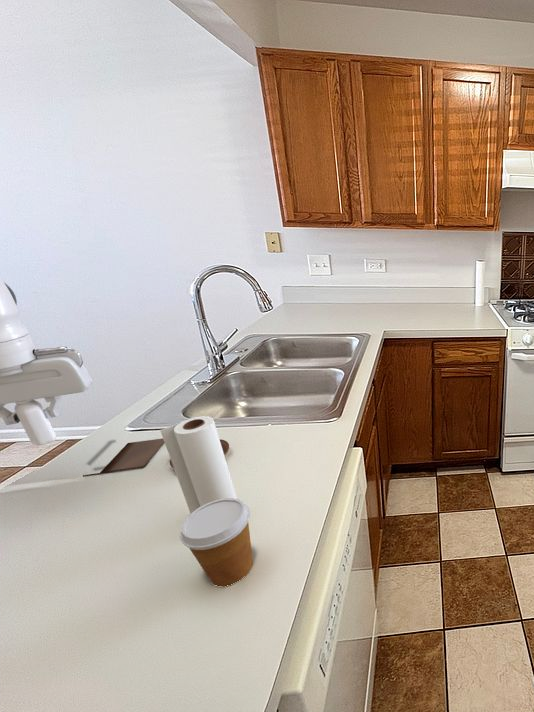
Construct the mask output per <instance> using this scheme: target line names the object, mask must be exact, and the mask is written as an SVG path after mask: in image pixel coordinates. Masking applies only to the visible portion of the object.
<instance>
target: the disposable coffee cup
mask: <svg viewBox="0 0 534 712" xmlns="http://www.w3.org/2000/svg"><path fill="white" fill-rule="evenodd" d="M250 515H251V512H250V508H249V506H247V504H245V503H244V502H243V501H242V500H240V499H238V498H237V499H235V498H224V499H219V500H215V501H212V502H209V503H207V504H205V505H203V506H201V507H199V508H198V509H196V510H195V511H194V512H192V513H190V514H189V515H188V516H187V517H186V518H185V519H184V521H183V523H182V524H181V530H180V535H179V539H180V543H182V545H184V546H185V547H187V548H188V549H189V550H190V552H191V553H192V555H193V557H194V558H195V559H196V561H197V563H198V565H199V566H200V567H201V569H202V570H203V572H204V573H205V575H206V577H207V578H208V580H209V581H210V583H211V582H212V583H213V584H214V585H217V586H226V587H228V586H227V585H230V586H232V585H231V584H233V583H235V582H237V581H239V580H240V581H242V580H243V579H244V578H245V577H246V576H248V574H250V572H251V570H252V568H253V566H254V560H253V553H252V552H253V551H252V542H251V533H250V525H249V519H250ZM249 571H250V572H249ZM244 576H245V577H244ZM243 577H244V578H243ZM242 578H243V579H242ZM241 579H242V580H241ZM240 581H239V582H240ZM212 583H211V584H212ZM237 583H238V582H237ZM213 584H212V585H213ZM235 584H236V583H235ZM214 585H213V586H214ZM233 585H234V584H233ZM217 586H216V587H217Z"/></svg>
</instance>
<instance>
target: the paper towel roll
mask: <svg viewBox="0 0 534 712" xmlns="http://www.w3.org/2000/svg"><path fill="white" fill-rule="evenodd" d="M159 430H160V434H161V437H162V438H163V439H164V442H165V443H164V445H165V448H166V450H167V453H168V455H169V458H170V459H171V461H172V464H173V467H174V469H173V470H174V472H175V475H176V478H177V480H178V483H179V486H180V489H181V491H182V494H183V497H184V500H185V502H186V505H187V507H188V511H189V513H190V514H191V513H192V512H194V511H195V510H196V509H198V508H199V507H201V506H203V505H205V504H207V503H209V502H212V501H215V500H219V499H224V498H235V499H238V495H237V493H236V490H235V487H234V483H233V479H232V476H231V474H230V470H229V467H228V463H227V460H226V455H225V456H224V453H223V449H222V446H221V443H220V439H221V438H220V437H219V432H218V430H217V425H216V423H215V420H214V418H213V417H211V416H208V415H202V416H195V417H191V418H187V419H185V420H182V421H179V422H176V423H175V424H172V425H171V426H168V427H165V428H162V429H159ZM170 459H169V460H170Z"/></svg>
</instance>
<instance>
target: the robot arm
mask: <svg viewBox="0 0 534 712" xmlns="http://www.w3.org/2000/svg"><path fill="white" fill-rule="evenodd" d="M17 301H18V300H17V296H16V294H15V292H14V291H13V289H12V288H11V287H10V286H9V285H8V284H7V283H6V282H5V281H3V278H1V277H0V418H1V419H2V420H3V423H4V424H5V425H6V426H10V425H15V424H19V423H21V422H20V420H19V418H18V416H17V414H16V412H15V411H14V412H12V411H11V410H9V409H8V408H6V407H5V406H6V405H7V404H13V403H15V402H21V401H28V400H41V399H44V401H45V402H46V403H49V406H46V407H45V408H44V411H43V412H44V414H45V416H46V418H48V419H53V418H58V416H60V415H61V413H60V410H59V407H58V406H59V402H60V400H61V398H62V396H67V395H73V394H79V393H84V392H86V391H87V390H88V389H90V387H91V385H92V384H93V379H92V377H91V375H90V372H89V371H88V369H87V368H86V366H85V364H84V361H83V360H84V359H83V358H82V355H81V353H80V351H78V350H76V349H74V348H70V347H67V346H57V347H47V348H37V347H36V345H35V342H34V340H33V338H32V336H31V333H30V332H29V330H28V328H26V326H25V325H23V323H22V322H21V319H20V314H19V313H20V312H19V308H18V302H17Z"/></svg>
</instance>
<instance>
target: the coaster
mask: <svg viewBox="0 0 534 712" xmlns="http://www.w3.org/2000/svg"><path fill="white" fill-rule="evenodd" d="M163 445H165V442H164V439H163V437H162V438H156V439H147V440H139V441H132V442H127V443H126V444H125V445H124V446H123V447H122V448H121V449H120V450H119V452H118V453H117V454H116V455H115V456H114V457H113V458H112V459H111V460H110V461H109V462H108V463H107V464H106V465H105V466H104V468H103V469H101V471H100V472H95V473H90V474H88V473H87V474H83V475H82V477H83V478H84V477H90V476H91V477H92V476H97V475H104V474H112V473H119V472H125V471H126V472H127V471H133V470H139V469H145V468H146V467H147V466H148V464H149V463H150V462H151V460H152V459H153V458H154V457H155V455H156V454H157V453H158V452H159V451H160V450H161V448H162V447H163Z"/></svg>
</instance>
